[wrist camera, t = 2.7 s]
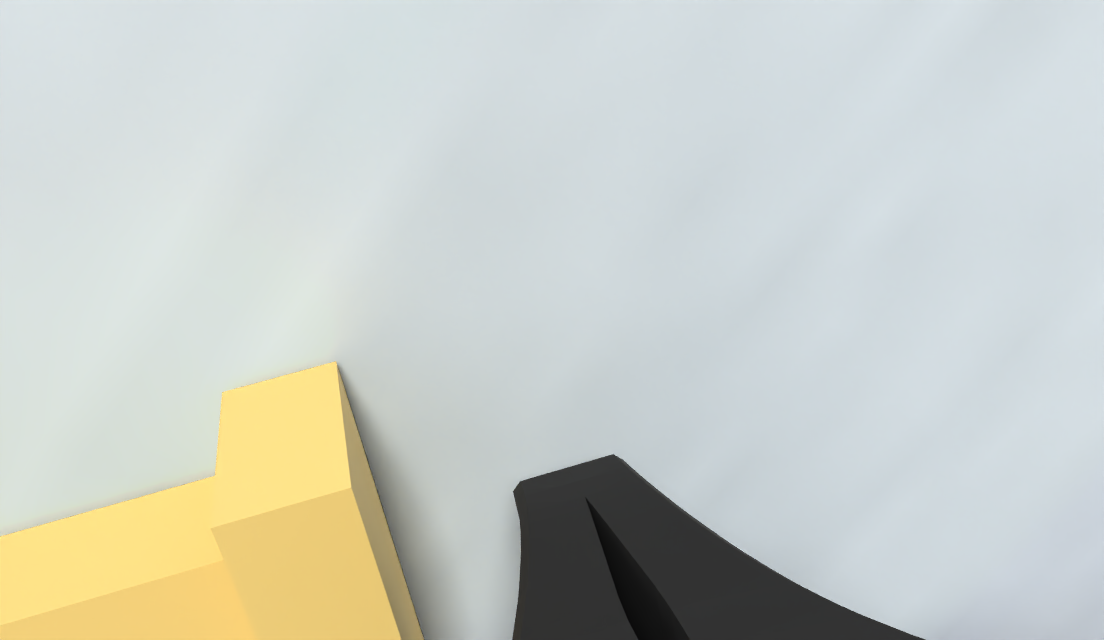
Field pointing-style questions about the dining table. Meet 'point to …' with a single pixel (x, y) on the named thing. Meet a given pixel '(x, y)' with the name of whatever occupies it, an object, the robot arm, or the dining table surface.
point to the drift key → (228, 540)
